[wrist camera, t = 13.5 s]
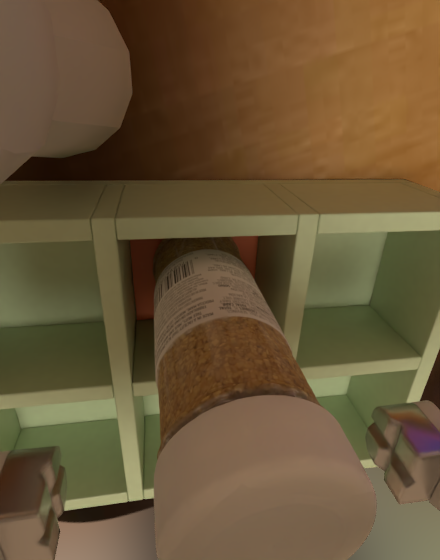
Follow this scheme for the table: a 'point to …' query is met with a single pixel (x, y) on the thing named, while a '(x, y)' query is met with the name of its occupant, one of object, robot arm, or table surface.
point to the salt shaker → (59, 79)
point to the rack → (140, 306)
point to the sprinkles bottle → (242, 424)
